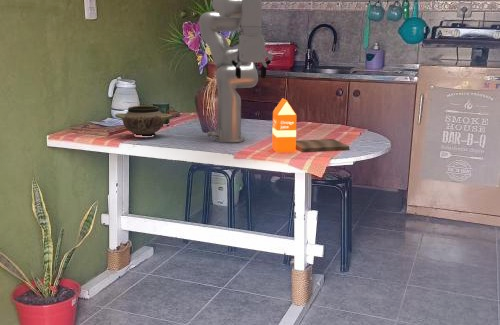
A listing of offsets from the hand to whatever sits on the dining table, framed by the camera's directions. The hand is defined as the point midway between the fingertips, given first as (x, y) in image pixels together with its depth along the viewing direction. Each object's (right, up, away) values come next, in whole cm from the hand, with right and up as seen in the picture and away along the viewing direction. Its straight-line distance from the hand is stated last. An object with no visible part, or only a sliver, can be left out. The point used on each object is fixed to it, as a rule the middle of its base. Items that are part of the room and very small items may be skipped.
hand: (250, 78), depth 226 cm
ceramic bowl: (-46, -21, +35) cm, 62 cm away
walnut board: (+27, -26, +16) cm, 41 cm away
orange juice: (+13, -27, +10) cm, 32 cm away
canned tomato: (-43, -14, +64) cm, 78 cm away
